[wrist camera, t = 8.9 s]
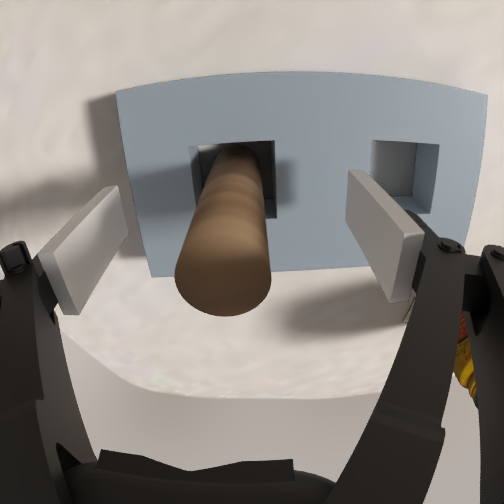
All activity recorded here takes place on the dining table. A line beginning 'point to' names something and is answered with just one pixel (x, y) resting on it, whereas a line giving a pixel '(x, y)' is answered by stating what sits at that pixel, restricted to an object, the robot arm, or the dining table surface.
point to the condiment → (462, 359)
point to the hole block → (299, 155)
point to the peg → (227, 240)
